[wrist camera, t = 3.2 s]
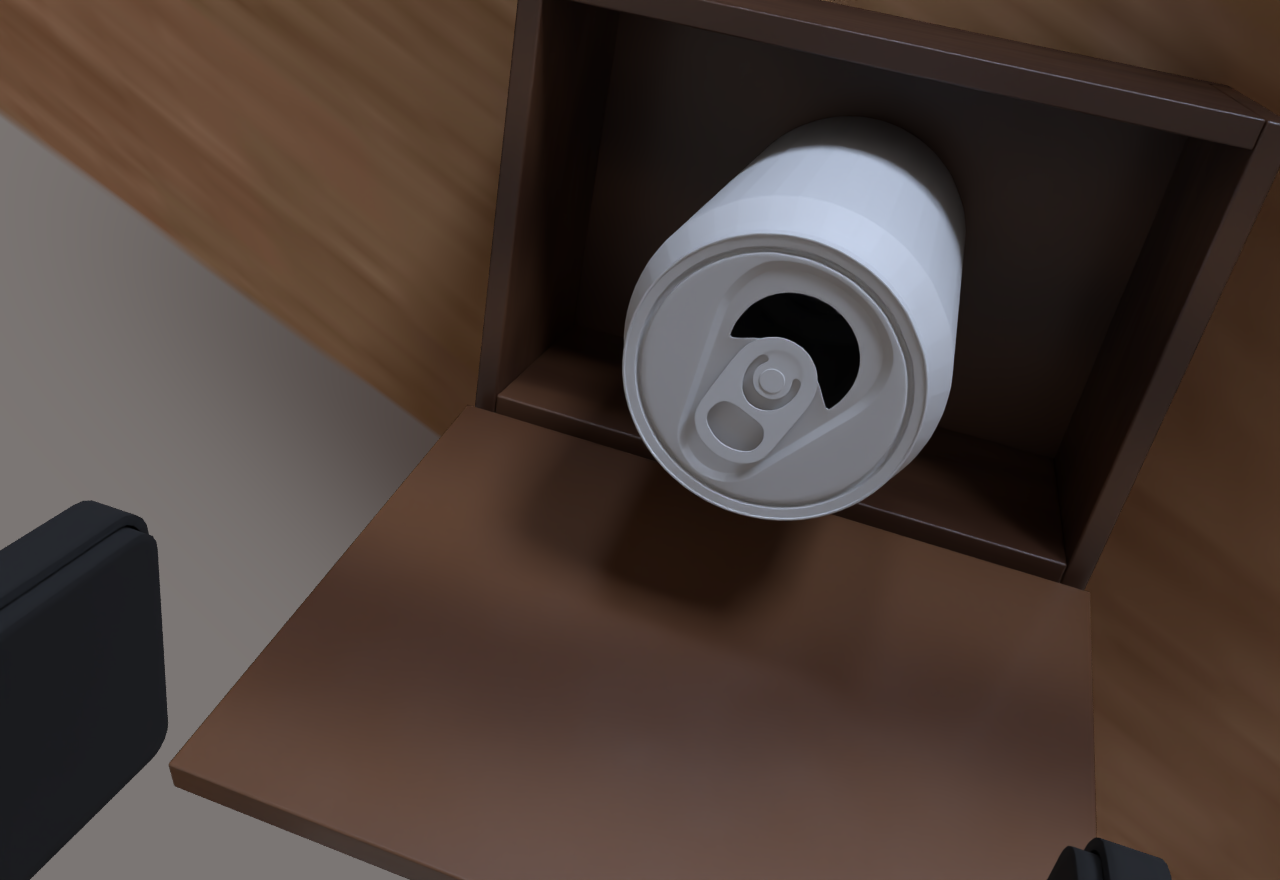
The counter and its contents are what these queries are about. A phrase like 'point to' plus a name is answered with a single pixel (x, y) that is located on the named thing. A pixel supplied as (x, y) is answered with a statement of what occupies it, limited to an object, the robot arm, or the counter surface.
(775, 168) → the beverage can
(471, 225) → the counter surface
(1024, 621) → the chest lid
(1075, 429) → the chest
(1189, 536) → the counter surface
